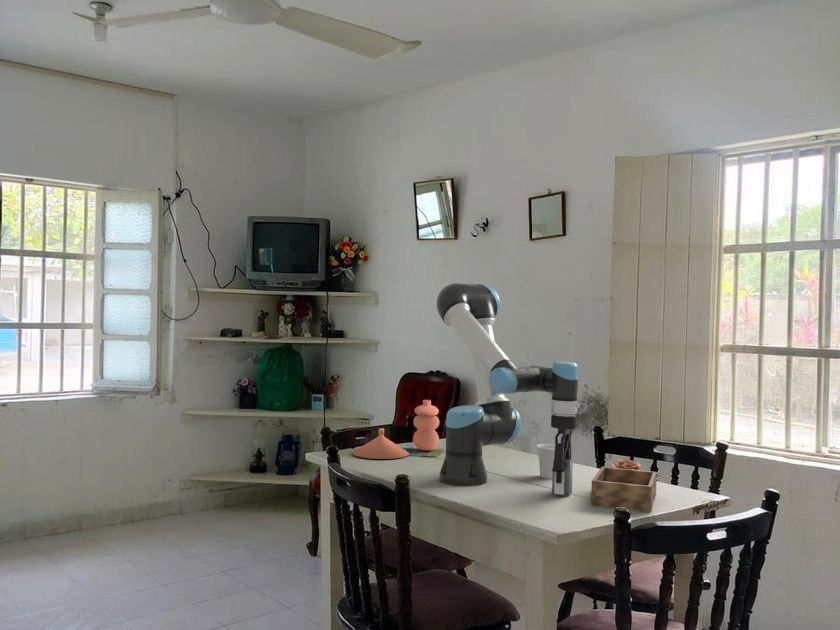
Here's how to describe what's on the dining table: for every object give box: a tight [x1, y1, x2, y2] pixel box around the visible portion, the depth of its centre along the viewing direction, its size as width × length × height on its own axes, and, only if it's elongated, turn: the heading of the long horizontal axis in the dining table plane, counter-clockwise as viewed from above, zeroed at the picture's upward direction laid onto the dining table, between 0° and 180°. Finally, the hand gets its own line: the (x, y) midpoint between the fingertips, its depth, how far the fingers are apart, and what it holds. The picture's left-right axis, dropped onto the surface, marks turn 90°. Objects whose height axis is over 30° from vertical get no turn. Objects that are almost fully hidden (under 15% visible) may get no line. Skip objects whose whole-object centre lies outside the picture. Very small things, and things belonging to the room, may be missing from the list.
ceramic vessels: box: [352, 399, 440, 460], centre depth 280 cm, size 35×21×19 cm, turn 121°
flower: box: [610, 458, 642, 471], centre depth 235 cm, size 10×9×8 cm
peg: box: [551, 458, 574, 497], centre depth 221 cm, size 5×5×10 cm
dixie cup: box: [536, 443, 555, 480], centre depth 243 cm, size 8×8×10 cm
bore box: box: [590, 466, 658, 513], centre depth 214 cm, size 16×21×7 cm
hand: (562, 490), depth 221 cm, fingers open, 9 cm apart
